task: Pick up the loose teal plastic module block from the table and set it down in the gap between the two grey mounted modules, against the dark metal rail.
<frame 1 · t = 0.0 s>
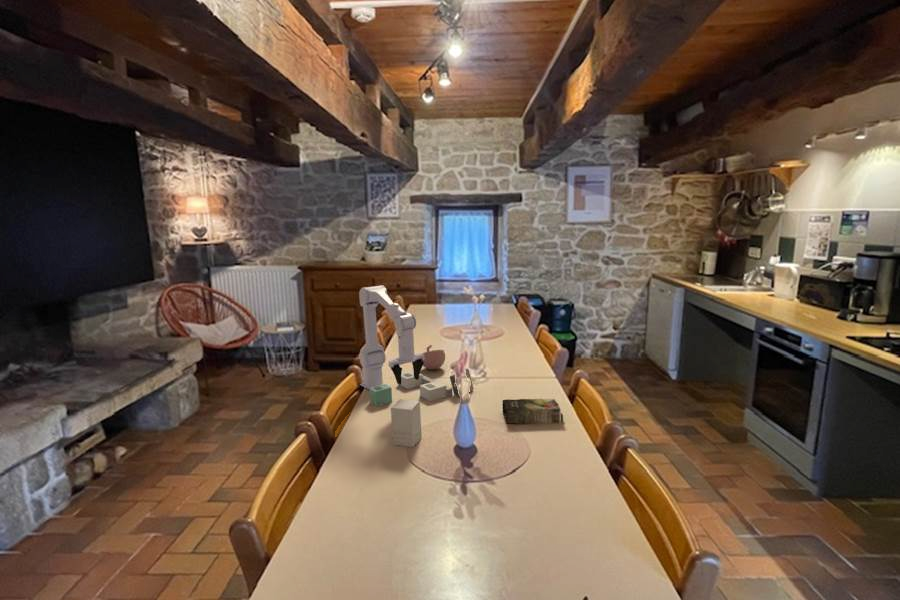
hand: (407, 381, 176), 10 cm above the table, fingers open, 7 cm apart
reddish brown round piece: (432, 369, 220), on the table
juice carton: (531, 419, 165), on the table
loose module: (381, 402, 183), on the table
supplement box: (407, 441, 151), on the table
electrical switch: (461, 393, 190), on the table
rail mount: (421, 390, 194), on the table
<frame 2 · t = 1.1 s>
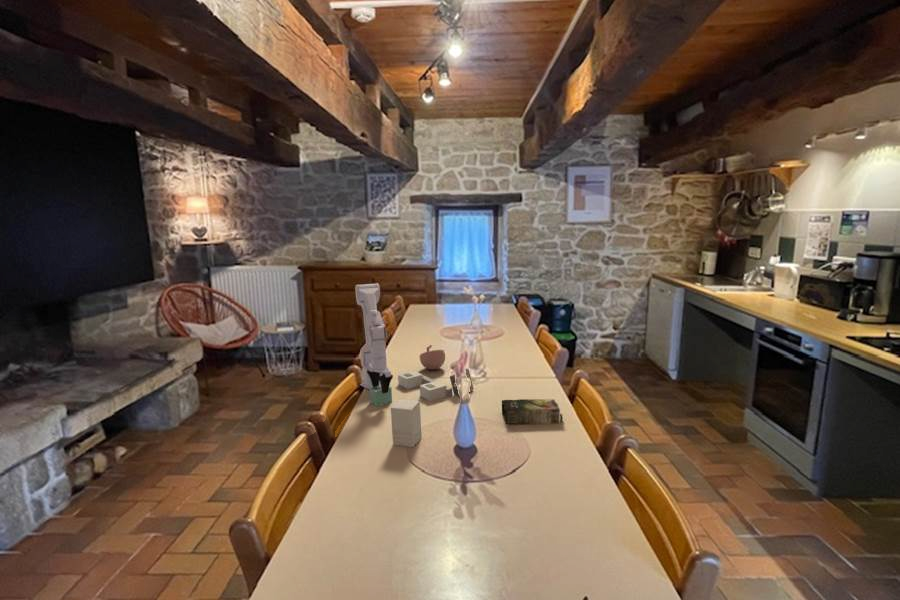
hand: (380, 390, 182), 5 cm above the table, fingers open, 7 cm apart
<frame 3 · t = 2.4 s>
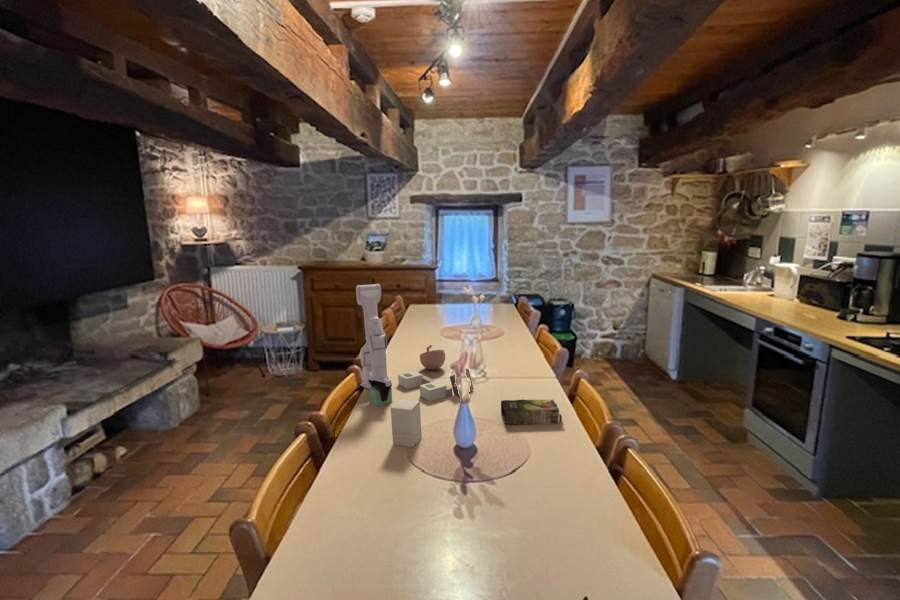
hand: (380, 398, 182), 1 cm above the table, fingers closed on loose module, 5 cm apart
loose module: (381, 402, 183), on the table, touching gripper
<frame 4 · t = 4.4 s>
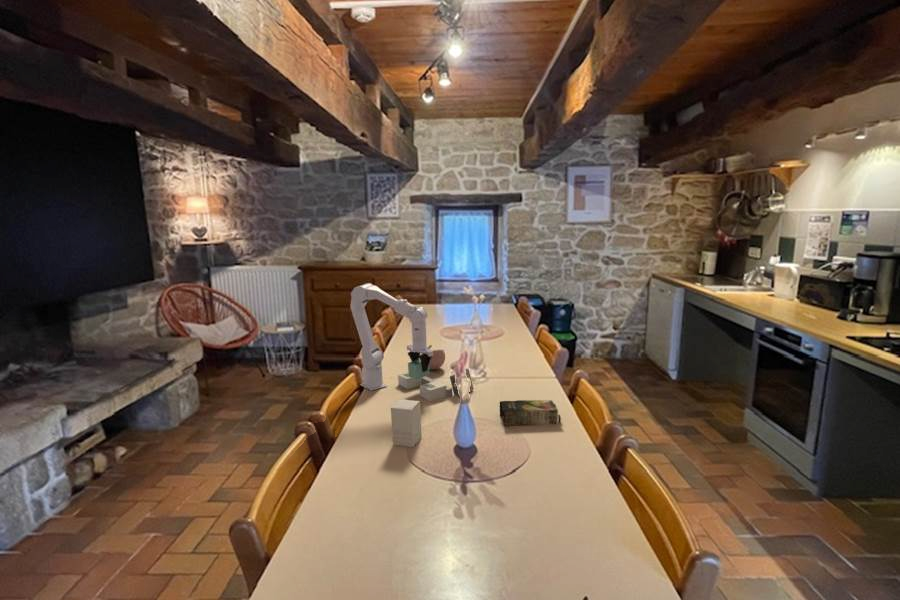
hand: (420, 369, 192), 9 cm above the table, fingers closed on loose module, 5 cm apart
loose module: (419, 375, 192), point 7 cm above the table, touching gripper
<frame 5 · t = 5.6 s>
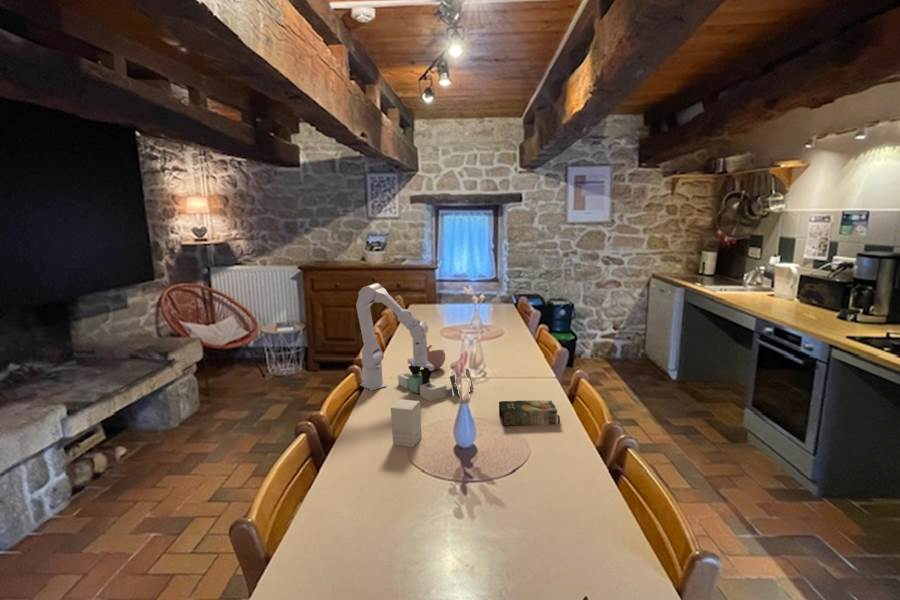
hand: (421, 383, 193), 3 cm above the table, fingers closed on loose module, 5 cm apart
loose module: (420, 389, 193), point 1 cm above the table, touching gripper
when the fingers open (3 cm above the table, at t = 6.4 s): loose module stays where it is, on the table.
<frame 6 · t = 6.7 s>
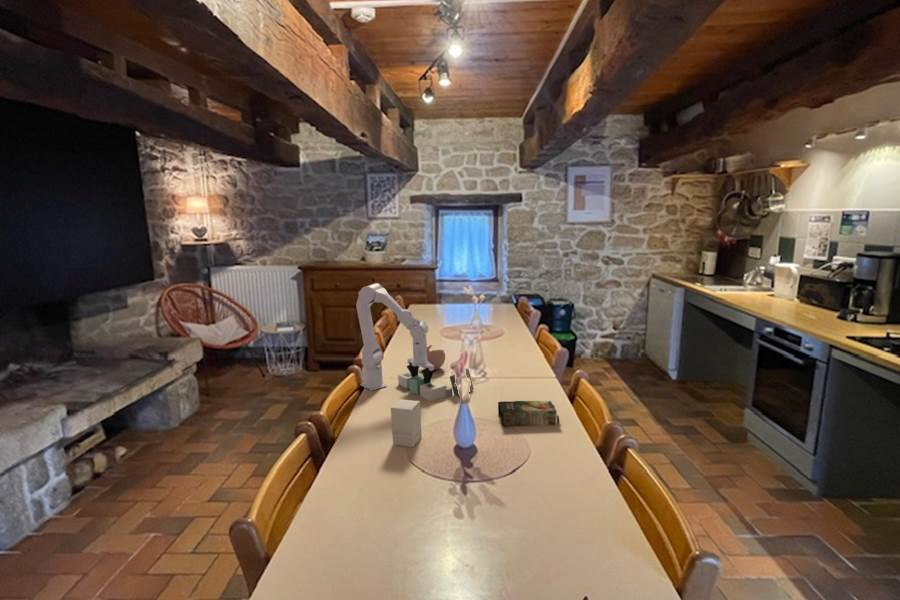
hand: (421, 383, 193), 3 cm above the table, fingers open, 7 cm apart
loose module: (420, 390, 193), on the table
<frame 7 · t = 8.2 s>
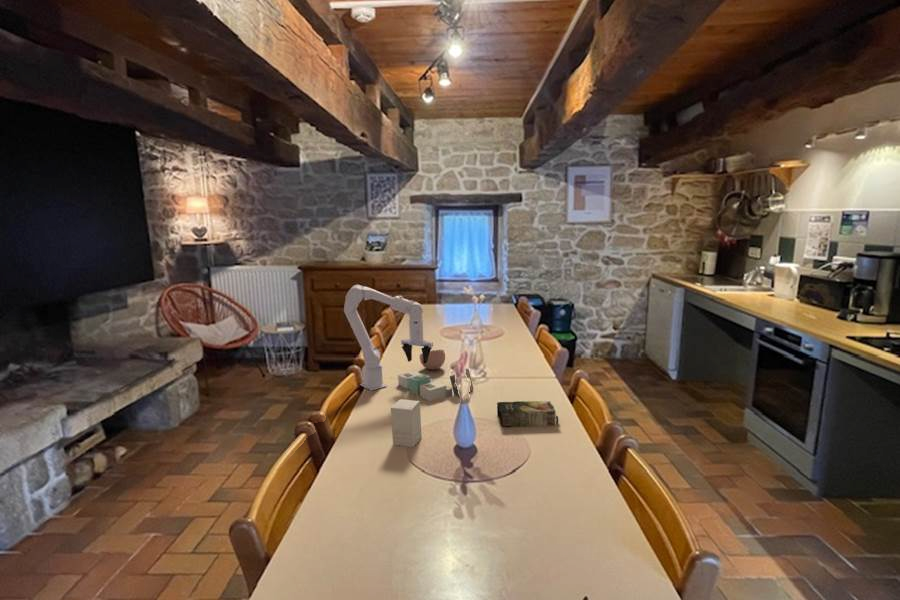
hand: (417, 361, 199), 10 cm above the table, fingers open, 7 cm apart
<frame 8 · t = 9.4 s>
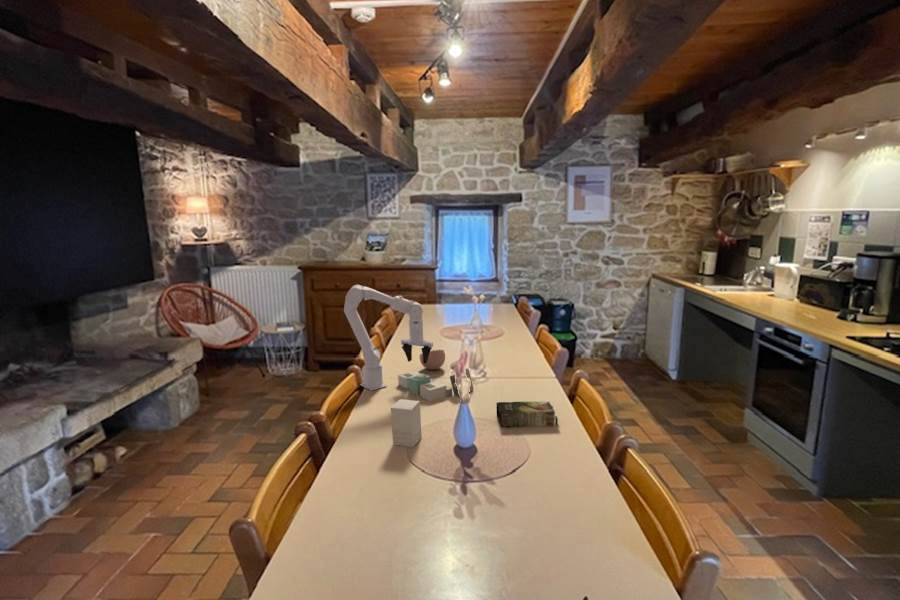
hand: (417, 361, 199), 10 cm above the table, fingers open, 7 cm apart
at the end: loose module inside the target area (0.8 cm from its centre), on the table; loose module tilted 0°; the gripper is holding nothing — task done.
